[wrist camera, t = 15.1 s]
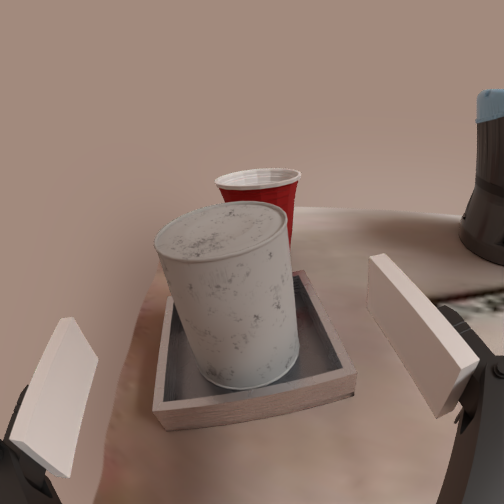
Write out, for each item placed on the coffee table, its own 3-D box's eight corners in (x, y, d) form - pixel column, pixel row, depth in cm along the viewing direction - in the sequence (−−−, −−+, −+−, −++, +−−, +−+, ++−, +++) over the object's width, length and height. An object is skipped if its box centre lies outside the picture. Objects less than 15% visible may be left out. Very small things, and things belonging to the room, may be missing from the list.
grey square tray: (305, 292, 35) (303, 269, 34) (353, 395, 22) (357, 372, 20) (175, 317, 34) (167, 296, 33) (166, 431, 21) (152, 411, 20)
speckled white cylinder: (180, 344, 29) (139, 230, 24) (260, 304, 33) (241, 193, 28) (228, 409, 22) (182, 278, 16) (322, 350, 26) (316, 219, 20)
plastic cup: (324, 249, 43) (318, 164, 37) (274, 289, 37) (260, 190, 31) (266, 234, 50) (255, 161, 45) (215, 265, 44) (196, 182, 38)
